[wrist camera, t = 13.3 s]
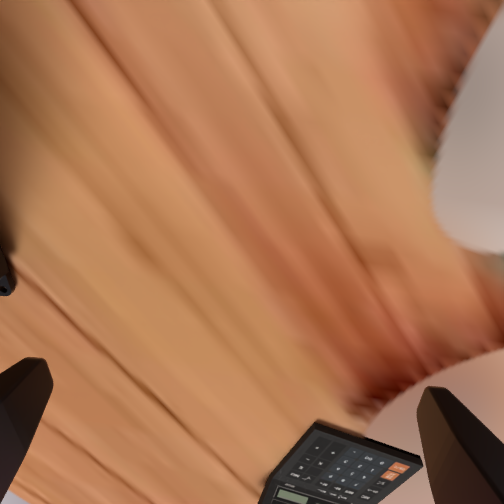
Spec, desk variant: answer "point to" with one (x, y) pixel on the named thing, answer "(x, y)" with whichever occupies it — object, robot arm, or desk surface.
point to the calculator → (338, 470)
